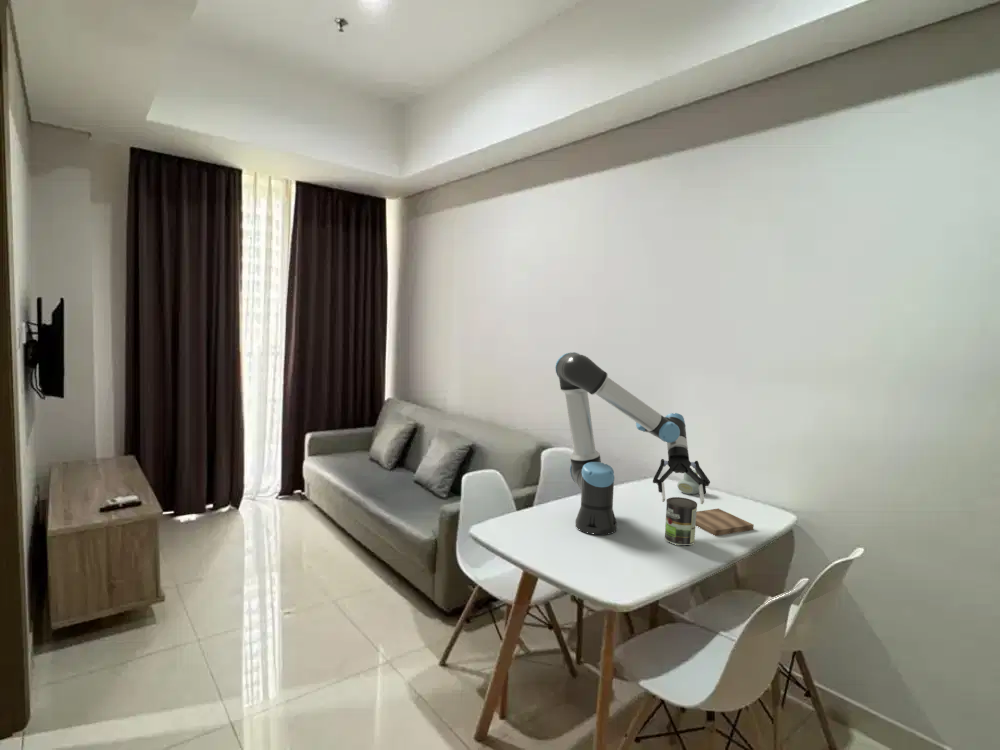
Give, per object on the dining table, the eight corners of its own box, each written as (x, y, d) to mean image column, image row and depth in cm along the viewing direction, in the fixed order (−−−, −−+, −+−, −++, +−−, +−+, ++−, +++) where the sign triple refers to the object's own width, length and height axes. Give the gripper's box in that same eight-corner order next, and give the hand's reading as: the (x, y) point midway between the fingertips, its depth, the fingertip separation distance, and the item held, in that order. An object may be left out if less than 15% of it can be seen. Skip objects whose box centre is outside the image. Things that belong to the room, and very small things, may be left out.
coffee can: (678, 548, 186) (681, 508, 184) (658, 537, 195) (660, 499, 194) (701, 543, 190) (703, 504, 189) (680, 532, 199) (682, 495, 198)
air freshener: (705, 493, 245) (706, 472, 244) (696, 497, 239) (698, 475, 238) (683, 487, 253) (684, 466, 252) (673, 491, 247) (675, 470, 246)
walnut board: (715, 535, 197) (715, 530, 197) (681, 518, 214) (682, 513, 214) (753, 529, 204) (753, 524, 203) (718, 513, 220) (718, 508, 220)
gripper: (709, 456, 212) (716, 507, 199) (643, 453, 215) (646, 503, 203) (713, 446, 206) (721, 498, 193) (645, 443, 210) (649, 494, 197)
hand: (683, 501), depth 198 cm, fingers open, 13 cm apart
